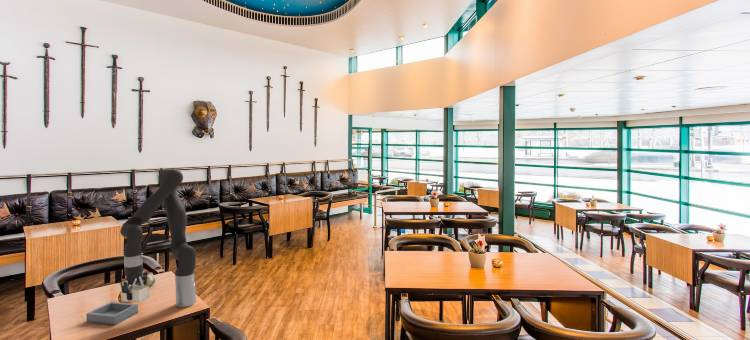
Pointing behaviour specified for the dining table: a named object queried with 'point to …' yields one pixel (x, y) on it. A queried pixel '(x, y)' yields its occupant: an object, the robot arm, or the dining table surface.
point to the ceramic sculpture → (150, 280)
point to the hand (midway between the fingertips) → (135, 297)
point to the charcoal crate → (112, 313)
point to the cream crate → (137, 294)
